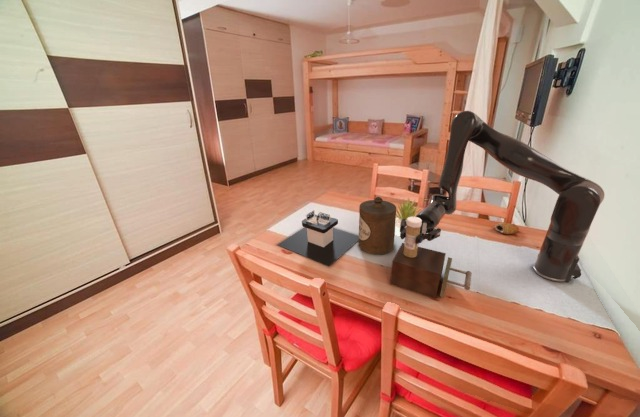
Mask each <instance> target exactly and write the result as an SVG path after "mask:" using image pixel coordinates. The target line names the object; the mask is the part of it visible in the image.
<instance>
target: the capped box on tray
mask: <svg viewBox="0 0 640 417" xmlns="http://www.w3.org/2000/svg"><path fill="white" fill-rule="evenodd" d="M338 224H339V219H338V218H335V217H331V214H328V213H325V212H321V211H319V212H318V214H315V210H314V209H313V210H312V211H310V212H309V213H306V214H305V218H304V219H302V221H301V226H302V227H303V228H301V229H300V230H298V231H297V232H295V233H293V234H292V235H290V236H289V237H287V238H285V239H284V240H281V242H279V243H277V246H280V247H282V248H285V249H287V250H289V251H291V252H293V253H296V254H299V255H301V256H303V257H306V258H308V259H310V260H312V261H315V262H317V263H320V264H322V265H324V266H328V267H331V265H333V264H334V263H335V262H336V261H337V260H338V259H339V258H341V256H343V255H344V254H345V253H346V252H347V251H348V250H349V249H350V248H352V247H353V246H354V245H355V244H357V242H359V234H355V233H352V232H349V231H345V230H342V229H339V228H335V227H336V226H337V225H338Z"/></svg>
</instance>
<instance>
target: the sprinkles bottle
mask: <svg viewBox="0 0 640 417" xmlns="http://www.w3.org/2000/svg"><path fill="white" fill-rule="evenodd" d="M406 221H407V223H406V224H407V228H406V235H405V238H404V242H403V243H404V251H403V253H404V255H405V256H407V257H411V258H413V257H416V256H417V249H418V247H419V243H418V244H416V243H415V242H416V237H417V236H418V235H419V234H420V227H421V225H422V220H421V219H420V218H418V217H415V216H407V218H406Z"/></svg>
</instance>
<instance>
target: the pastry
mask: <svg viewBox="0 0 640 417" xmlns="http://www.w3.org/2000/svg"><path fill="white" fill-rule="evenodd" d="M493 228H494V230H495V231H496V232H499V233H501V234H504V235H513V234H516V233H518V232H519V226H518V225H516V224H515V223H510V222H505V221H504V222H499V223H497V224H495V225H494V227H493Z"/></svg>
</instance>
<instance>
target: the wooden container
mask: <svg viewBox="0 0 640 417" xmlns="http://www.w3.org/2000/svg"><path fill="white" fill-rule="evenodd" d="M358 212H359V215H358V216H359V217H358V236H359V240H358V247H359V248H360V249H361V250H362V251H363V252H365V253H368V254H371V255H385V254H388V253H390V252H392V250H393V249H394V247H395V246H394V245H395V235H396V220H397V219H396V216H397V206H396V204H394V203H393V202H390V201H387V200H383V198H382V197H381V196H376V197H374V198H373V199H369V200H364V201H363V202H361V203H360V204H359V210H358Z"/></svg>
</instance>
